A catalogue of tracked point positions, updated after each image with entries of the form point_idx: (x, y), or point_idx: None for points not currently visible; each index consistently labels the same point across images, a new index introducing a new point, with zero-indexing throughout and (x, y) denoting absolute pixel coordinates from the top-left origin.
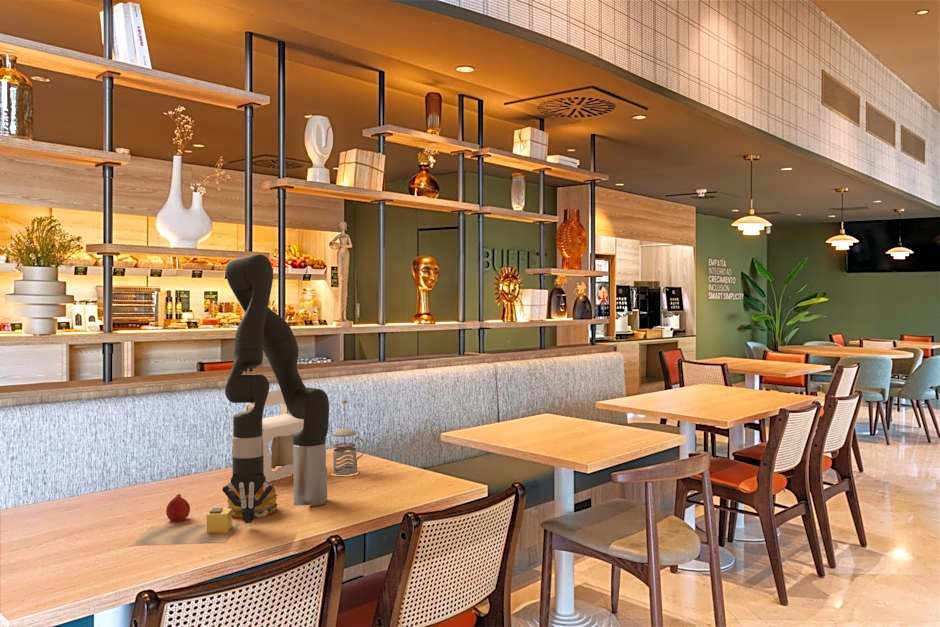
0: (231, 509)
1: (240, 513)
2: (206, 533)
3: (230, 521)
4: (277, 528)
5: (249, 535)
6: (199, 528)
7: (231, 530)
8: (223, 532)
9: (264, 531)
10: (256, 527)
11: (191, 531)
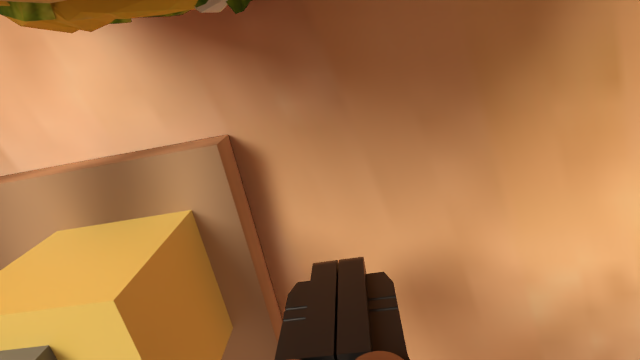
0: (124, 313)
1: (126, 22)
2: None
3: (188, 284)
4: (531, 120)
5: None
6: None
7: (242, 301)
8: None
9: (443, 195)
10: (349, 108)
11: None
